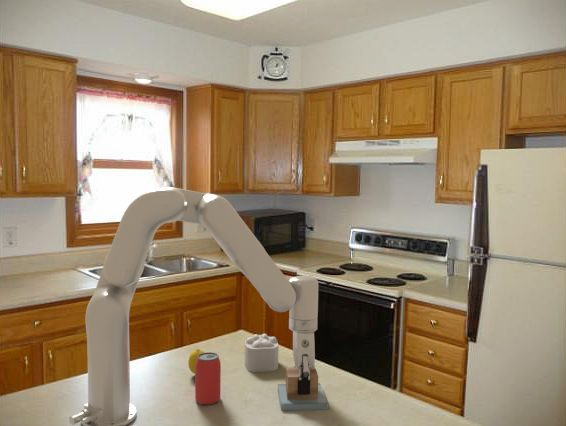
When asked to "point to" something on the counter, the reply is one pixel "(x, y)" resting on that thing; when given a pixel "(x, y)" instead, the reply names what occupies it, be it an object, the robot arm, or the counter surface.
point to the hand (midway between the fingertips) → (301, 386)
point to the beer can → (207, 378)
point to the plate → (301, 400)
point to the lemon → (194, 359)
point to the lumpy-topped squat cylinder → (261, 353)
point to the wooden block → (292, 384)
